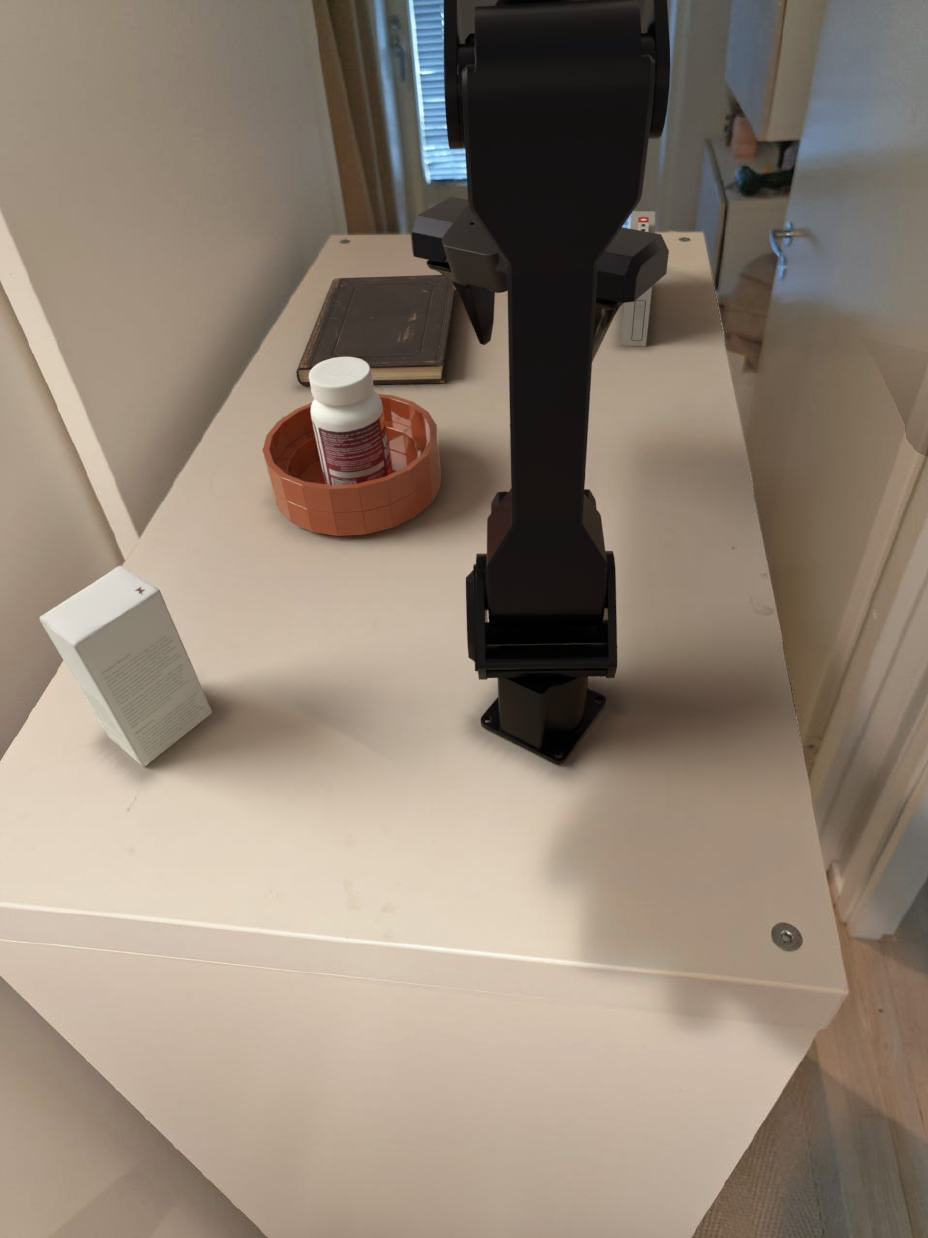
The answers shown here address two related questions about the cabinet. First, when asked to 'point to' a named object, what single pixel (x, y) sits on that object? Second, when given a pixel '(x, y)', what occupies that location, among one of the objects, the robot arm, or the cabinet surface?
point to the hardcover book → (386, 327)
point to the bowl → (362, 503)
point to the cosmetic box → (129, 663)
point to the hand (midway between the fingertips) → (533, 355)
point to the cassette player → (640, 308)
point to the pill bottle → (348, 422)
